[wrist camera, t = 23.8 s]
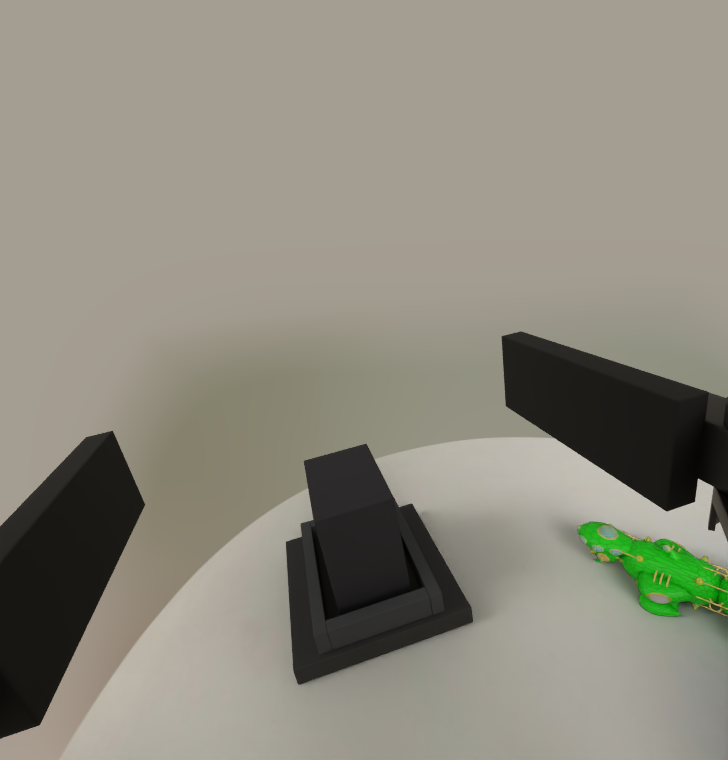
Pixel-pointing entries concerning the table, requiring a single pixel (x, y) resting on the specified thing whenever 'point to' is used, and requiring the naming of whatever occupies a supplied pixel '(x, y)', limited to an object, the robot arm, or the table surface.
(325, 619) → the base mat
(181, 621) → the table surface
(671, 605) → the crocodile figurine
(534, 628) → the table surface
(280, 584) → the table surface
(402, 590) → the pad block
